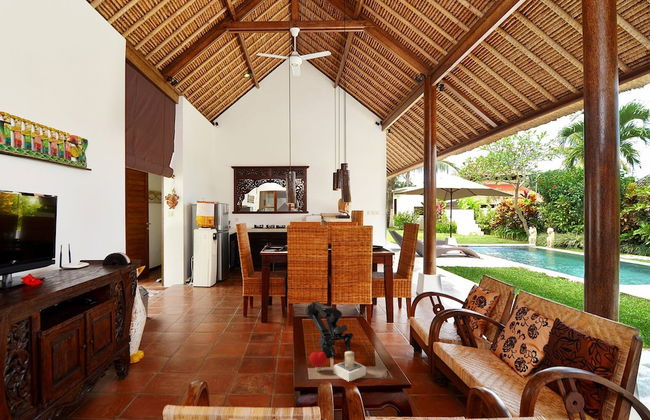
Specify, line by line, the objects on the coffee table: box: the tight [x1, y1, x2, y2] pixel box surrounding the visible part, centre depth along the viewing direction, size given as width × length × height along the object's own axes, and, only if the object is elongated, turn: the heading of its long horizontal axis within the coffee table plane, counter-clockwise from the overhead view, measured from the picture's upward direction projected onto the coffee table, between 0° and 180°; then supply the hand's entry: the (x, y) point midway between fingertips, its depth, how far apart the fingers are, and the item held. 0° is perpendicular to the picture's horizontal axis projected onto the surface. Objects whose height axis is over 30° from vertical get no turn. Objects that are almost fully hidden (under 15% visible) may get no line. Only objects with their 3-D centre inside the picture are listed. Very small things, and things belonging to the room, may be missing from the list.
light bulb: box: [309, 351, 328, 373], centre depth 180 cm, size 9×7×10 cm
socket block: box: [333, 360, 367, 383], centre depth 177 cm, size 12×12×5 cm
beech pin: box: [344, 350, 355, 369], centre depth 177 cm, size 5×5×11 cm
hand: (342, 353), depth 184 cm, fingers open, 9 cm apart
